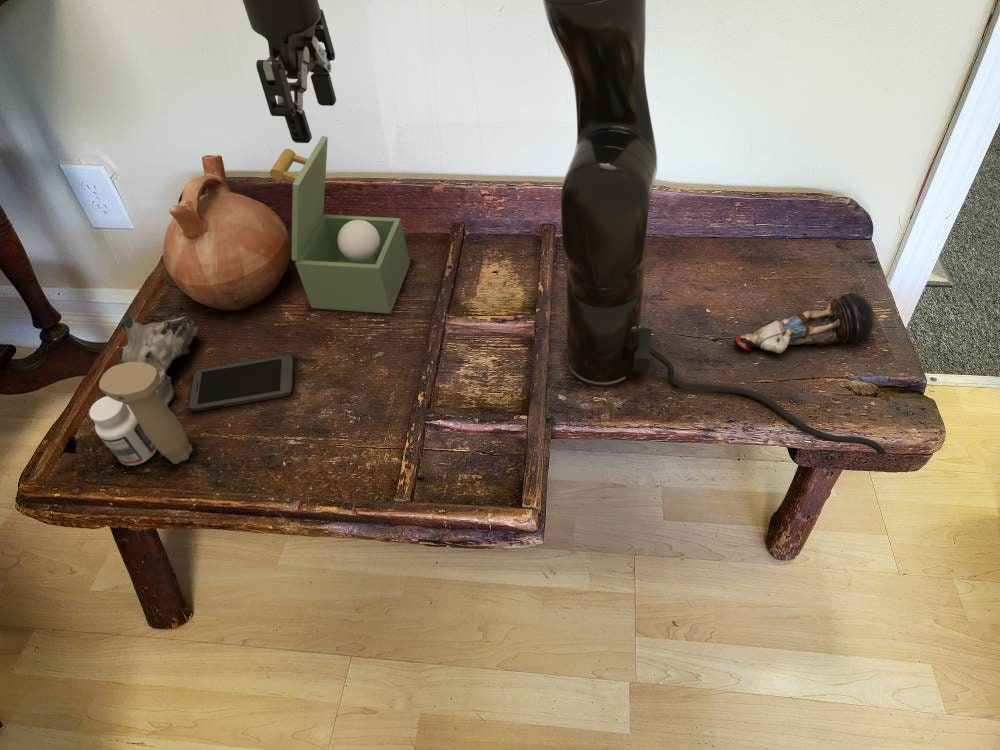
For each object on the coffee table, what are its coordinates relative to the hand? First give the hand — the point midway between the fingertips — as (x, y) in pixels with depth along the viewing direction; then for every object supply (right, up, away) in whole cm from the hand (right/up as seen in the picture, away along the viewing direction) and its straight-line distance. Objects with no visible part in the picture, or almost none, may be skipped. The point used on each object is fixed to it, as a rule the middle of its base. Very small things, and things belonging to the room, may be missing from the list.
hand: (315, 122), depth 87 cm
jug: (-19, -16, +29) cm, 38 cm away
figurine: (+62, -25, +13) cm, 69 cm away
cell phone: (-14, -32, +14) cm, 37 cm away
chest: (0, -16, +27) cm, 31 cm away
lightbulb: (+2, -16, +26) cm, 30 cm away
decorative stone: (-26, -29, +18) cm, 43 cm away
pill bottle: (-25, -40, +8) cm, 48 cm away
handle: (-19, -40, +7) cm, 45 cm away
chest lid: (-4, -6, +16) cm, 17 cm away
